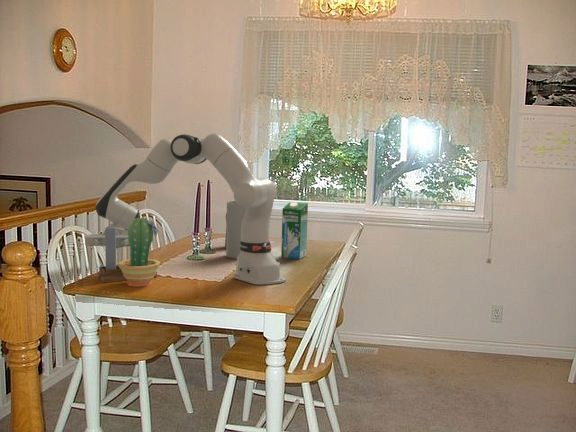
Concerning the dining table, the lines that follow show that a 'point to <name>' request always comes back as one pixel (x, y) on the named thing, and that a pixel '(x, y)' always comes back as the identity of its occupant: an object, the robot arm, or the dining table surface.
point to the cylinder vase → (234, 228)
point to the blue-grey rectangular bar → (110, 247)
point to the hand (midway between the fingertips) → (110, 243)
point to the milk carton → (294, 230)
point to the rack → (112, 274)
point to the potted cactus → (140, 254)
